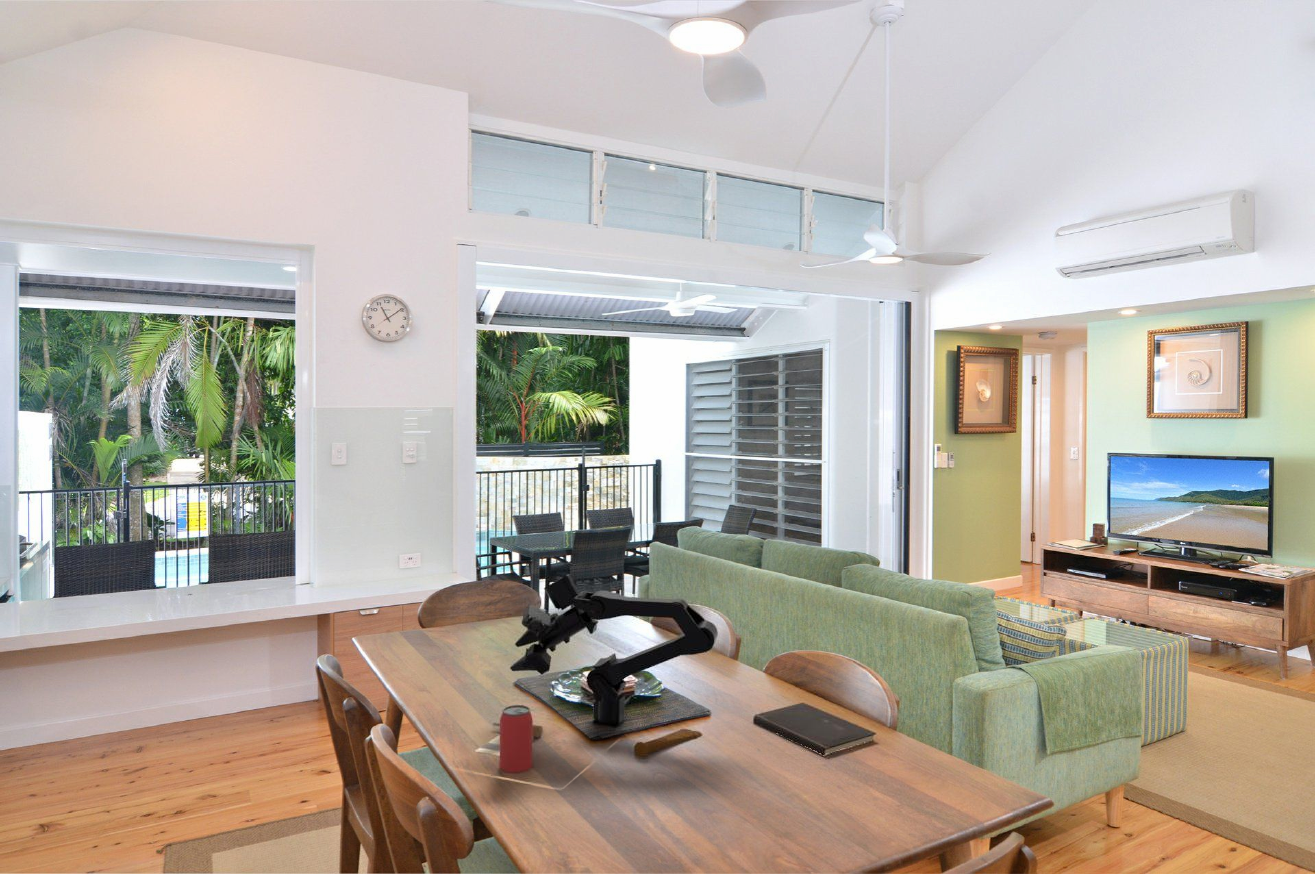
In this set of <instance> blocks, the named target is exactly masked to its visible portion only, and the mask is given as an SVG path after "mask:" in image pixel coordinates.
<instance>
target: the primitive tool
mask: <svg viewBox="0 0 1315 874" xmlns="http://www.w3.org/2000/svg"><path fill="white" fill-rule="evenodd" d="M702 735H703V733H702V732H701V731H699V730H691V729H688V728H682V729H681V728H680V729H678V730H676V731H674V732H671V733H668V734H666V735H663V736H659V737H658V738H654V739H652V740H649V741H646V742H642V741H637V742H636V743H635V744H634V747H633V752H634V755H635V756H636V757H637V758H640V759H645V758H646V757H647V755H649V754H652V753H655V752H660V751H661V750H664V749H667V748H669V747H672V746H675V745H678V744H681V743H684V742H688V741H690V740H693V739H697V738H701V737H702Z"/></svg>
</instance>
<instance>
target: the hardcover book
mask: <svg viewBox="0 0 1315 874" xmlns="http://www.w3.org/2000/svg"><path fill="white" fill-rule="evenodd" d="M752 723H753V724H755V723H756V725H757V724H758V726H760V727H762V726H763V727H762V728H763V729H766V730H768V729H769V730H768V731H770V730H771V731H770V732H772V731H773V732H772V733H774V732H775V733H774V734H776V733H778V734H779V736H780V735H782V736H784V737H786V738H785V739H787V738H788V739H787V740H789V739H790V740H789V741H791V740H793V741H794V742H793V741H792V742H793V743H795V742H797V743H799V744H802V745H803V746H806V747H808V748H811V749H812V750H815V751H817V752H818V753H821V754H822V755H825V754H826V753H831V752H834V751H836V750H840V749H842V748H848V747H850V746H854V745H857V744H861V745H863V744H862V743H864V742H867V743H869V741H871V742H873V741H872V740H875V739H874V737H875V735H877V733H876V732H875V731H872V730H869V729H867V728H865V727H863V726H860V725H858V724H855V723H853V722H850V721H848V720H846V719H844V718H841V717H838V716H836V715H833V714H832V713H829V712H826V711H825V710H821V709H819V708H817V707H814V706H813V705H810V704H808V703H805V702H800V703H797V704H792V705H788V706H784V707H781V708H777V709H773V710H768V711H764V712H760V713H756V714H755V715H754V716H753V722H752ZM778 734H777V735H778ZM782 736H781V737H782ZM784 737H783V738H784ZM797 743H796V744H797ZM799 744H798V745H799ZM864 744H865V743H864ZM803 746H802V747H803ZM848 749H849V748H848ZM818 753H817V754H818ZM822 755H821V756H822Z"/></svg>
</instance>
